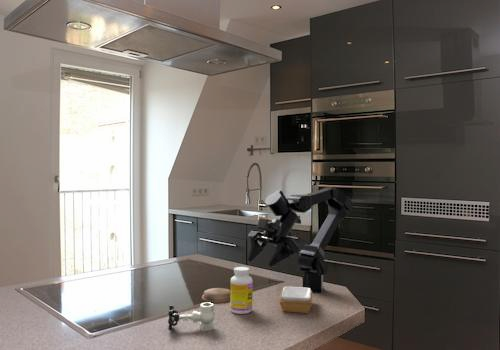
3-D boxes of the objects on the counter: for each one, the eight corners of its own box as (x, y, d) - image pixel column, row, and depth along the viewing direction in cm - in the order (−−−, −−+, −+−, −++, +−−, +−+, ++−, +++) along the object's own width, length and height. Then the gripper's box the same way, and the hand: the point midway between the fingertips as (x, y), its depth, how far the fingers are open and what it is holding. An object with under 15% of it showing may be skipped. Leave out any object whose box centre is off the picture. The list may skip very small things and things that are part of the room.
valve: (214, 324, 113) (170, 325, 112) (214, 300, 113) (170, 301, 112) (214, 333, 107) (168, 334, 106) (214, 308, 107) (168, 309, 106)
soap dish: (312, 315, 121) (312, 298, 121) (278, 313, 123) (279, 296, 122) (312, 302, 133) (312, 286, 133) (281, 300, 135) (282, 285, 135)
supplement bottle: (249, 315, 120) (250, 271, 120) (227, 313, 121) (228, 270, 121) (254, 308, 127) (254, 266, 126) (233, 306, 128) (233, 265, 128)
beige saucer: (237, 295, 140) (237, 289, 140) (225, 304, 130) (225, 298, 130) (210, 291, 143) (210, 286, 143) (196, 300, 133) (196, 294, 133)
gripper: (251, 207, 139) (226, 243, 132) (293, 211, 125) (266, 252, 118) (268, 228, 144) (244, 264, 137) (309, 234, 130) (285, 275, 123)
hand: (258, 263), depth 129 cm, fingers open, 9 cm apart
